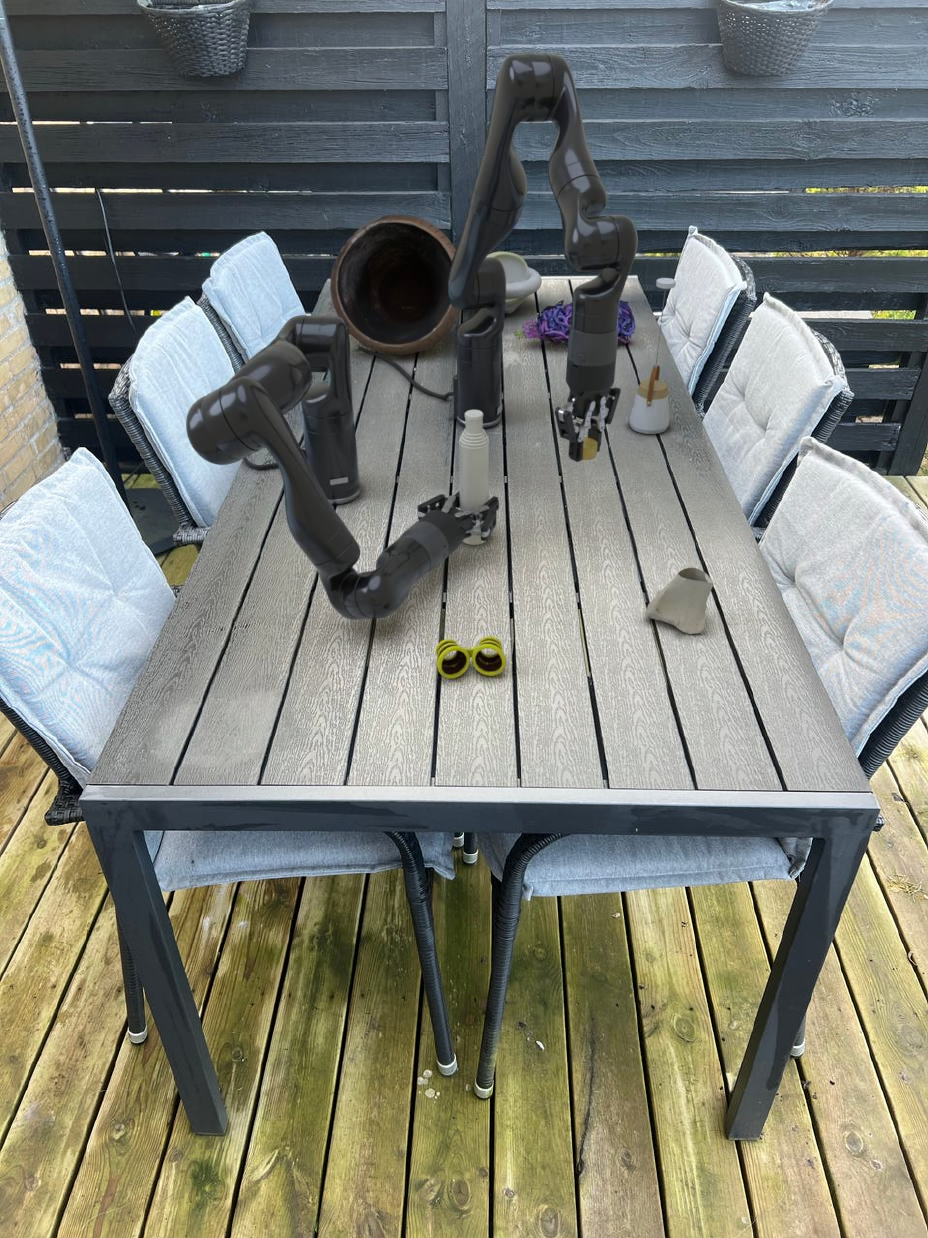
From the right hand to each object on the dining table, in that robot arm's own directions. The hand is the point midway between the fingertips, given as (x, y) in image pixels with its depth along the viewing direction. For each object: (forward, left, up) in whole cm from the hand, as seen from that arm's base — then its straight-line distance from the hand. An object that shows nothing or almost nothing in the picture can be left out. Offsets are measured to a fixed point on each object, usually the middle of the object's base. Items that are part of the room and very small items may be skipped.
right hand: (584, 454), depth 153 cm
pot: (-84, +54, -15) cm, 101 cm away
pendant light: (-10, +45, -15) cm, 48 cm away
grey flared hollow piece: (+25, -13, -15) cm, 32 cm away
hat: (-76, +85, -15) cm, 115 cm away
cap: (0, 0, +2) cm, 2 cm away
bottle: (-14, -12, -15) cm, 24 cm away
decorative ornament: (-47, +75, -15) cm, 90 cm away
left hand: (-14, -9, -9) cm, 19 cm away
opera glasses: (+6, -40, -15) cm, 43 cm away
